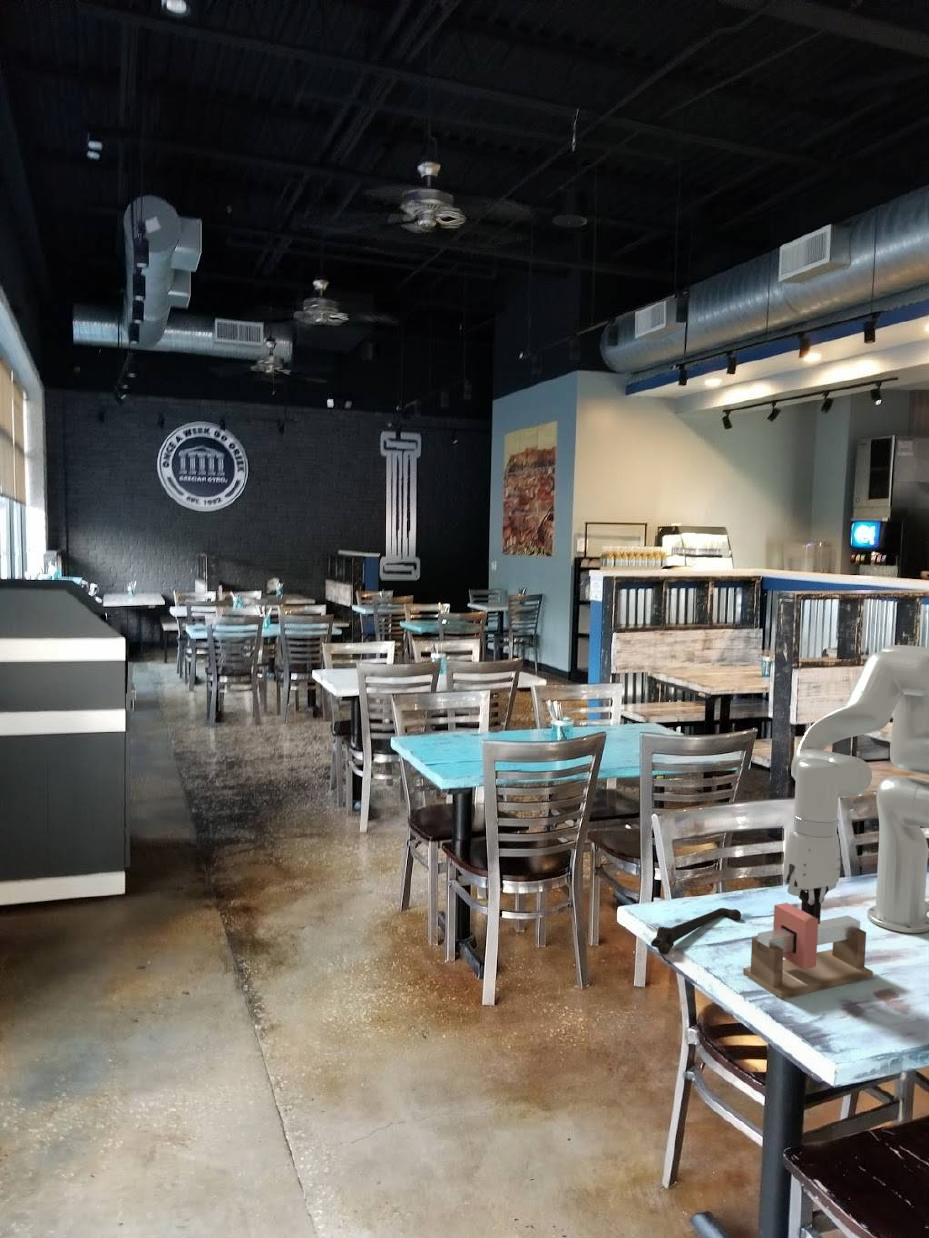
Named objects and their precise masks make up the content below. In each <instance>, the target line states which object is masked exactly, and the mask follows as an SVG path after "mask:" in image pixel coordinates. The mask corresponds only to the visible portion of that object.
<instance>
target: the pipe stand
mask: <svg viewBox="0 0 929 1238" xmlns="http://www.w3.org/2000/svg"><path fill="white" fill-rule="evenodd" d="M866 943H867V931H865V930H863V929H861V928H860V929H858V930H853V931H852V938H851V939H846V940H841V941H836V942H832V949H827V950H823V951H819V952H818V951H817V957H816V967H812V968H807V969H802V968H800V967H798V966H797V965H795V964H793V963H792V962H790V961H788V960H787V959H785V958H783V949H782V948H780V947H779V946H775V947H770V948H769V947H768V949H767V948H766V949H767V950H766V949H764V948H765V947H763V946H764V944H762V945H761V943H760V942H759V941H758V936H753V937H752V938H751V954H750V955H751V957H750V966H748V967H743V969H742V970H743V971H742V975H743V974H744V975H743V976H745V975H746V976H748V977H749V978H750V979H749V978H748V977H747V978H748V979H749V980H751V979H752V980H753V982H754V983H756V984H757V985H759V986H760V985H761V986H760V987H761V988H763V989H765V990H766V989H767V990H766V991H768V992H769V991H770V992H769V993H771V995H774V996H775V995H776V997H777V996H778V997H779V998H778V997H777V998H778V999H780V1000H783V999H787V998H786V997H788V998H791V996H792V997H795V996H794V995H796V996H799V995H804V994H808V993H813V992H817V991H816V990H818V991H821V990H826V989H830V988H834V987H838V986H842V985H847V984H851V983H855V982H859V981H864V980H868V979H869V980H870V979H873V976H874V971H873V970H871V969H870V968H867V967H865V963H866V947H867V944H866ZM757 944H760V945H757ZM757 946H758V947H759V946H760V948H762V947H763V948H762V950H764V952H763V951H760V948H757ZM766 947H767V946H766ZM758 949H759V950H758ZM746 976H745V977H746ZM752 980H751V981H752ZM782 998H783V999H782Z"/></svg>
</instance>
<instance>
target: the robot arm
mask: <svg viewBox="0 0 929 1238" xmlns="http://www.w3.org/2000/svg"><path fill="white" fill-rule="evenodd" d="M892 716H893V718H891V717H892ZM890 719H892V726H891V735H890V742H889V743H890V744H889V745H890V746H889V759H890V762H891V764H892V765H893V766H895V767H896V768H898V769H900V770H904V771H908V772H912V773H915V774H922V775H926V776H929V647H926V646H918V645H917V646H916V645H908V644H907V645H906V644H895V645H887V646H885V647H883V648H882V649H880V650H879V651H876V652H874V653H871V655H870V656H869V657H868V658H867V659H866V661H865V663H864V665H863V667H862V669H861V671H860V673H859V675H858V676H857V679H856V681H855V683H854V684H853V687H852V689H851V692H850V693H849V696H848V697H847V699H846V702H845V703H844V704H843V705H842V706H841V707H839V708H836V709H835V710H833V711H830V712H829V713H828V714H826V715H824V716H822V717H821V718H820V719H817V720H816V722H814V723H813V724H812V725H810V727H808V729H807V730H806V731H805V732H804V735H803V736H802V738H801V740H800V742H799V743H798V745H797V748H796V749H795V752H794V755H793V757H792V761H791V765H790V766H791V767H790V770H791V775H792V778H793V780H794V781H795V783H794V784H795V785H794V786H795V787H794V789H795V790H794V804H793V805H794V809H793V810H794V811H793V826H792V827H793V830H792V831H790V832H789V834H788V838H787V842H786V846H785V851H784V852H785V853H784V859H783V869H782V881H783V882H784V883H786V884H788V885H787V886H788V888H787V890H786V891H787V893H788V894H789V895H791V896H794V897H795V896H796V897H798V899H799V900H801V908H800V910H802V911H804V912H806V913H808V914H810V915H812V916H814V917H815V918H817V919H818V924H820V921H821V911H822V910H821V909H822V903H824V902H825V896H826V895H827V893H828V892H831V891H832V890H835V889H836V887H837V884H838V882H839V880H840V877H841V876H840V875H841V847H840V839H839V834H838V833H837V832H838V825H839V823H840V820H839V818H838V813H839V812H838V811H839V798H852V797H858V796H861V795H863V794H864V793H865V792H866V791H867V790H868V789H869V787H870V785H871V783H872V778H873V772H872V770H871V767H870V765H869V763H867V762H866V761H865V760H863V759H862V758H860V757H857V756H852V755H847V754H842V753H839V752H834V751H828V750H826V749H827V748H828V747H830V746H831V745H833V744H835V743H837V742H838V741H841V740H844V739H849V738H852V737H857V736H858V737H859V736H864V735H867V734H872V733H876V732H879V731H881V730H883V729H884V728H886V727H887V725H888V723H889V722H890ZM875 796H876V798H875V799H876V807H877V812H878V813H877V815H878V822H879V823H878V824H879V825H878V826H879V831H878V832H879V834H878V855H877V857H878V858H877V874H876V892H875V905H874V906H871V907H869V908H868V909H867V915H866V917H867V918H868V919H869V921H870V922H872V923H873V924H874V925H877V926H879V927H881V928H884V929H887V930H890V931H894V932H898V933H906V934H921V933H925V932H928V931H929V916H928V913H929V900H928V901H926V893H927V891H926V890H927V876H928V874H927V873H928V872H927V871H928V859H929V857H928V855H929V844H928V840H927V837H926V836H925V833H924V831H923V829H922V828H927V829H929V781H927V780H924V779H917V778H913V777H908V776H901V775H899V776H897V775H893V776H888V777H886V778H884V779H882V781H881V782H880V783H879V784H878V786H877V789H876V795H875ZM921 827H922V828H921Z"/></svg>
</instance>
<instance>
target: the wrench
mask: <svg viewBox="0 0 929 1238" xmlns="http://www.w3.org/2000/svg"><path fill="white" fill-rule="evenodd" d="M721 917H726V918H730V919H731V920H733V921H739V920H741V918H742V914H741V911H740V910H738V909H735V908H733V909H729V908H725V907H720V908H717V909H715V910H712V911H711V912H708V913H705V914H702V915H701V916H697V917H695V918H692V919H691V920H688V921H684V922H683V923H679V924H677V925H675V926H673V927H665V926H658V927H657V928H658V929H657V933H656V937H655V938H653V939H652V941H651V942H650V945H651V947H652V948H653V947H654V948H657V950H658V953H660V954H662V955H663V954H664V955H668V954H669V952H670V951H671V950H672V949H673V947H674V946H675V944H674V943H675V942H676V941H678V940H680V939H682V938H683V937H684V936H687V935H688V934H690V933H693V932H694V931H696V930H697V929H699V928H701V927H703V926H704V925H707V924H709V923H711V922H712V921H714V920H717V919H718V918H721Z"/></svg>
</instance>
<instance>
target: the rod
mask: <svg viewBox="0 0 929 1238" xmlns="http://www.w3.org/2000/svg"><path fill="white" fill-rule="evenodd" d="M858 929H861V921H860V920H858V919H856V918H854V917H852V916H850V915H844V916H839V917H833V918H827V919H823V920H820V924H818V936H817V946H821V945H826V944H830V943H831V944H833V942H836V941H841V940H846V939H851V938H852V931H853V930H858ZM757 937H758V941H759V942H760V943H761V945H762V944H764V946H763V947H765V948H764V949H766V948H767V949H768V947H769V948H770V947H775V946H779V947H780V948H782V949H783V953H784V952H789V951H792V952H796V940H797V933H796V932H794V931H792V930H790V929H789V928H787V927H785V926H783V927H781V929H776V930H773V929H771V930H766V931H762V932H757ZM757 945H760V944H757ZM766 946H767V947H766ZM763 947H762V948H763ZM757 948H760V946H759V947H758V946H757ZM762 948H760V951H763V952H764V950H762ZM767 949H766V950H767ZM758 950H759V949H758Z"/></svg>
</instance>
